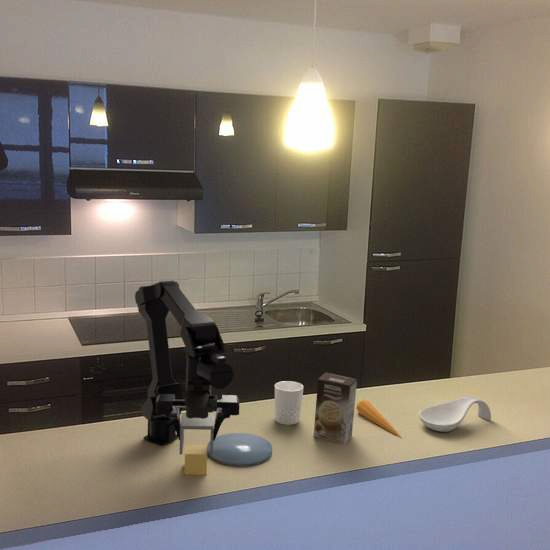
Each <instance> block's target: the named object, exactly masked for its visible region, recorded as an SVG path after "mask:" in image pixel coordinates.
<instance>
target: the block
mask: <svg viewBox="0 0 550 550" xmlns="http://www.w3.org/2000/svg"><path fill="white" fill-rule="evenodd" d="M207 445H208V444H185V451H184V472H183V473H184V475H207V472H208V471H207V466H208V464H207V463H208V453H207Z"/></svg>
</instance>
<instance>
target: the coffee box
mask: <svg viewBox="0 0 550 550" xmlns="http://www.w3.org/2000/svg"><path fill="white" fill-rule="evenodd" d="M357 384H358V379H357V378H353V377H350V376H344V375H340V374H336V373H331V372H324V373H323V374H322V375H321V376H320V377H319V378H318V379H317V386H316V387H317V389H316V398H315V399H316V402H315V414H314V428H313V437H316V438H320V439H323V440H327V441H332V442H335V443H338V444H339V443H340V444H343V445H346V443H348V441H349V440H350V439H351V438H352V436H353V428H354V427H353V426H354V416H355V405H356V396H357V395H356V393H357Z"/></svg>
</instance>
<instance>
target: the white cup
mask: <svg viewBox="0 0 550 550" xmlns="http://www.w3.org/2000/svg"><path fill="white" fill-rule="evenodd" d="M303 394H304V385H303V384H302V383H301V382H298V381H290V380H286V381H284V380H282V381H279V382H276V383H275V384H274V420H275V421H276V422H277V423H278V424H282V425H285V426H286V425H287V426H288V425H290V426H292V425H296V424H299V423H300V421H301V419H300V418H301V411H302V403H303V396H304V395H303Z"/></svg>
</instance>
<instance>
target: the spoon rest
mask: <svg viewBox="0 0 550 550" xmlns="http://www.w3.org/2000/svg"><path fill="white" fill-rule="evenodd" d="M474 404H477V405H478V408H477V410H478V411H477V415H478V417H480V418H482V419H484V420H487V421H491V420H492V414H491V409H490V406H489V405H488V404H487V403H486V402H485V401H483V400H481V399H479V398H477V397H475V396H472V395H471V396H470V395H469V396H464V397H460V398H456V399H454V400H451V401H446V402H443V403H440V404H436V405H432V406H427V407H425V408H422V409H421V410H420V411H419V412H418V418H419V420H420V422H422V424H423V425H424V426H425V427H426V428H428V429H430V430H432V431H436V432H440V433H446V432H447V433H448V432H451V431H453V430H454V429H456V428H458V426H459V425H460V424H461V423H462V422H463V420H464V419H465V417H466V415H467V413H468V412H469V410H470V408H471V407H472V405H474Z"/></svg>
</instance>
